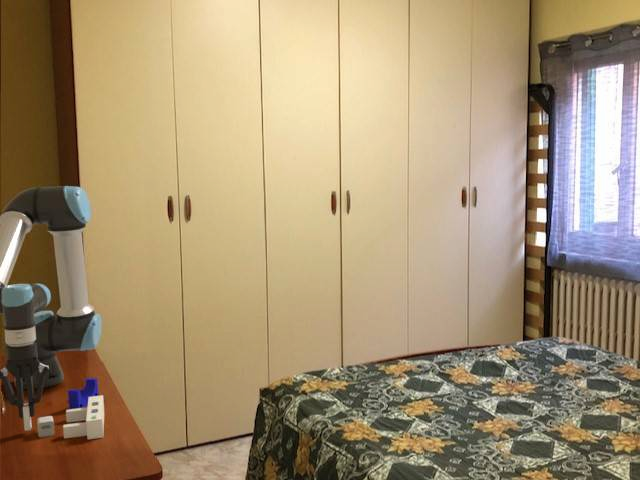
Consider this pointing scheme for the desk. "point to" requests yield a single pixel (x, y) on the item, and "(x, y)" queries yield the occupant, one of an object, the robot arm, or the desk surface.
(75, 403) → the cable clip
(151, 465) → the desk surface
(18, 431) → the desk surface
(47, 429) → the usb wall charger
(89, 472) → the desk surface
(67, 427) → the dock
